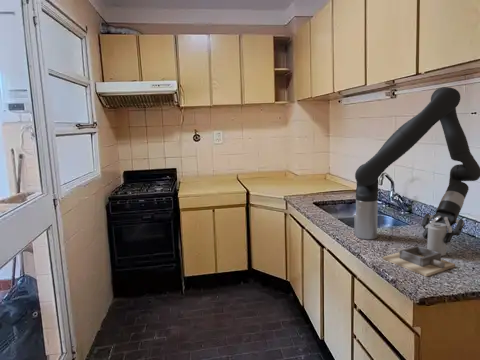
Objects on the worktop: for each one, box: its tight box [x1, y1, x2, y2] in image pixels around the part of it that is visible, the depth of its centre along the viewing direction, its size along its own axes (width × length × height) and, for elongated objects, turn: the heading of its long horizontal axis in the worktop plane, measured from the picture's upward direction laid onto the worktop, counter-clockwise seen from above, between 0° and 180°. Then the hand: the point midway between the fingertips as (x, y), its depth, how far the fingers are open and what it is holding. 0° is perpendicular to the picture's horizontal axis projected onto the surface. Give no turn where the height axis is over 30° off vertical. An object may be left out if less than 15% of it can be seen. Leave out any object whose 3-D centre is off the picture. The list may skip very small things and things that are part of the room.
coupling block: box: [382, 245, 456, 277], centre depth 128 cm, size 18×15×4 cm
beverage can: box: [426, 222, 448, 257], centre depth 134 cm, size 6×6×12 cm
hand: (435, 240), depth 134 cm, fingers open, 7 cm apart
